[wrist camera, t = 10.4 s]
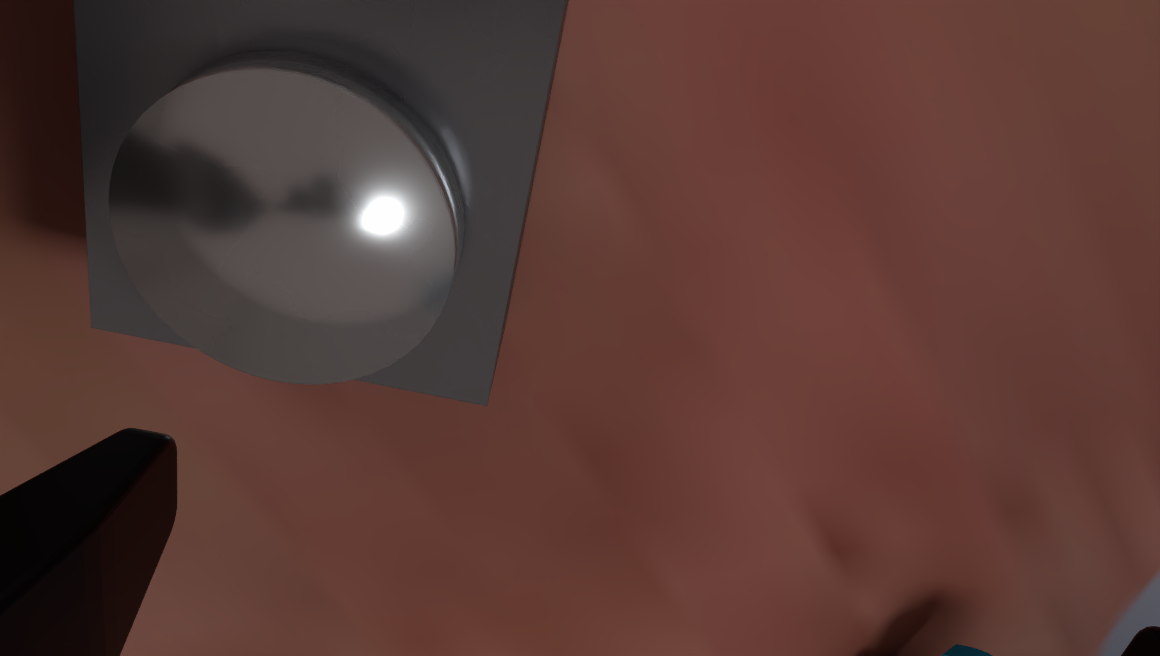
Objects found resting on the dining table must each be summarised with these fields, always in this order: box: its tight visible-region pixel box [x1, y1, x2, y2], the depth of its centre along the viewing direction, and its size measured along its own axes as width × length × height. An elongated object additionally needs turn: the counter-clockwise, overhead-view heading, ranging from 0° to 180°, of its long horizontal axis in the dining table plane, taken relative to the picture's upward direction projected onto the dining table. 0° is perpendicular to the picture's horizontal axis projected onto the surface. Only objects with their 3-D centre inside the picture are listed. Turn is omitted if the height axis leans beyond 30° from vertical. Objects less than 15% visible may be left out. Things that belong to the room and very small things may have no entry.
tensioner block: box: [73, 0, 569, 406], centre depth 18 cm, size 8×14×4 cm, turn 169°
